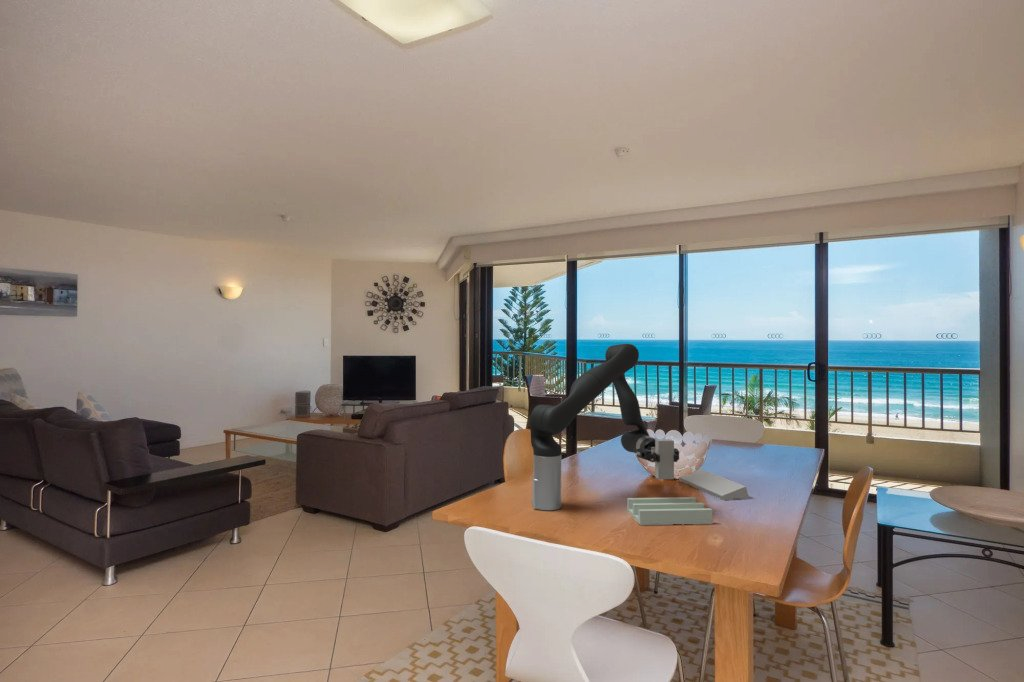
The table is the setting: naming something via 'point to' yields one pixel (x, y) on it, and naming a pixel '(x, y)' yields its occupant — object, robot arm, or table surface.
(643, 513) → the pale green ridged block
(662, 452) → the grey rectangular block
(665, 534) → the table surface
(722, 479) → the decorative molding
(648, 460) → the robot arm
